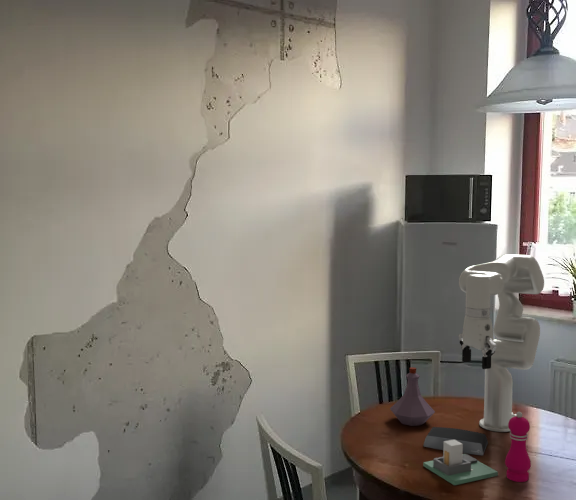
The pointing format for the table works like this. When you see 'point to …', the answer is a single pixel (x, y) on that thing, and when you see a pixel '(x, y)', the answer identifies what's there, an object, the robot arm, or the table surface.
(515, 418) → the pepper mill
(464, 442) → the external hard drive
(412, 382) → the flask
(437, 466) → the board
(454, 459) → the plug
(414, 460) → the table surface
